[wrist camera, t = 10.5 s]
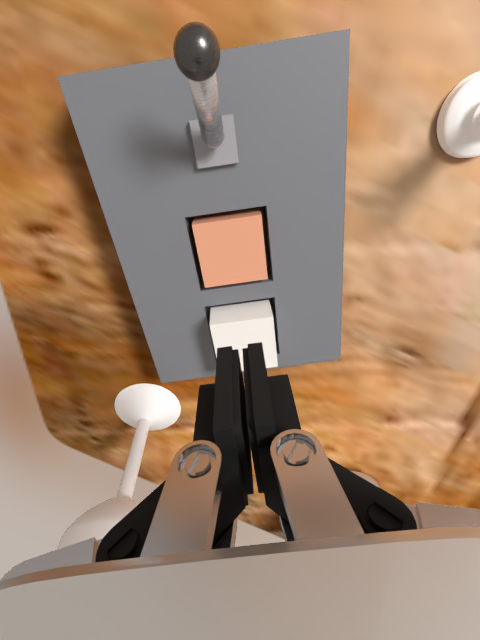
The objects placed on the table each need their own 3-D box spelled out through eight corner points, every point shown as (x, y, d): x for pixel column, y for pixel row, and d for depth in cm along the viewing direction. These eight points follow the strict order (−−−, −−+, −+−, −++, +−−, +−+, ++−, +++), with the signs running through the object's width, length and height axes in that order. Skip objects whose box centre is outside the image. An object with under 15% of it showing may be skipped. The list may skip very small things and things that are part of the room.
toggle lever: (232, 155, 18) (220, 48, 12) (200, 160, 18) (170, 56, 12) (228, 125, 18) (214, 4, 12) (196, 130, 18) (165, 12, 12)
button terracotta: (264, 265, 25) (267, 279, 23) (206, 273, 25) (204, 287, 23) (258, 205, 23) (261, 214, 21) (194, 214, 23) (191, 224, 21)
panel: (328, 335, 30) (341, 362, 27) (167, 357, 31) (160, 386, 28) (330, 42, 20) (352, 27, 16) (81, 82, 20) (53, 76, 17)
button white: (273, 347, 27) (277, 366, 25) (220, 354, 27) (219, 374, 25) (268, 299, 25) (273, 316, 23) (210, 307, 25) (209, 325, 23)
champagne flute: (192, 400, 34) (145, 833, 13) (162, 438, 37) (83, 846, 16) (131, 373, 32) (-39, 838, 11) (103, 416, 34) (-74, 853, 14)
